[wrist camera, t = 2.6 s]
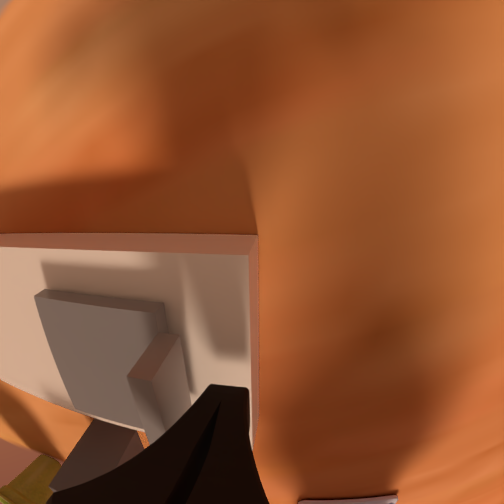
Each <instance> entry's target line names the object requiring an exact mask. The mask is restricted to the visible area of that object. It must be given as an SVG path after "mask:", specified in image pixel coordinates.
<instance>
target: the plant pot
mask: <svg viewBox="0 0 504 504" xmlns="http://www.w3.org/2000/svg"><path fill="white" fill-rule="evenodd" d="M60 468H61V465H60V463H59V462H58V461H57V460H55V459H53V458H51V457H49V456H46V455H40V456H39V457H38V458H36V460H34V461H33V462H32V463H31V464H30V465H29V466H28V467H27V468H26V469H25V470H24V471H23V472H22V473H21V474H19V475H18V476H17V477H16V478H15V479H14V480H12V481H11V482H10V483H9V484H8V485H6V486H3V487H2V488H0V502H1V503H2V504H46V502H47V500H48V499H49V498H50V496H51V495H52V494H53V493H54V492H53V491H52V490H51V489H50V488H49V487H48V486H49V484H50V483H51V481H52V480H53V478H54V477H55V475H56V474H57V472H58V471H59V469H60Z"/></svg>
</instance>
